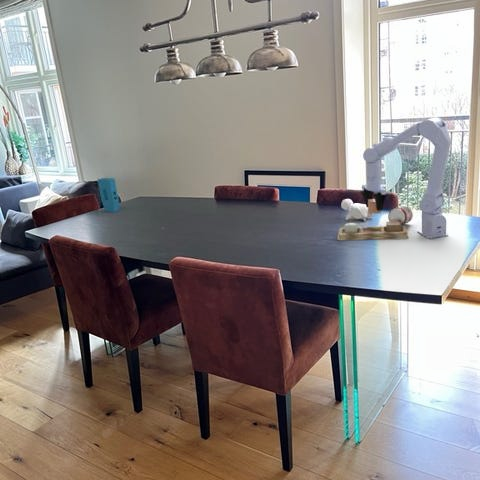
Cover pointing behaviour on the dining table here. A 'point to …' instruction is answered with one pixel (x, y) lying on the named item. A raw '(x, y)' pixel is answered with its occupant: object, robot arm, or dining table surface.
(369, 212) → the terracotta block
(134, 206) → the dining table surface
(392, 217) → the soda can
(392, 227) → the seated pieces
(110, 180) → the block
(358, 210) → the white figurine
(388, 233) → the oak tray
